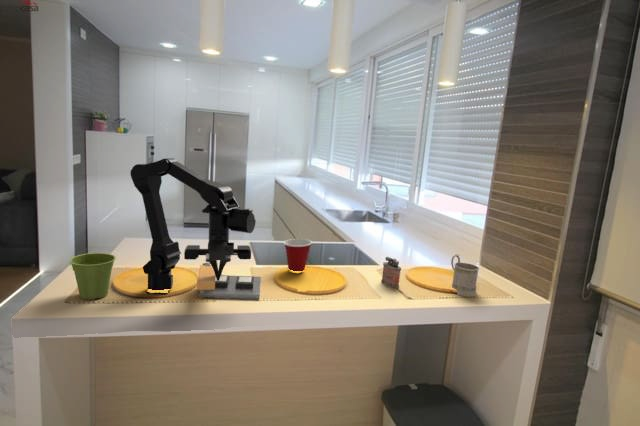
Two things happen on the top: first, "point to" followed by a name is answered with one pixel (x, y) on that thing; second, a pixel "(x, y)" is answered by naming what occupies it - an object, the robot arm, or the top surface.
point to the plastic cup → (297, 253)
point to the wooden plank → (206, 277)
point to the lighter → (391, 273)
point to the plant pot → (93, 274)
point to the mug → (464, 278)
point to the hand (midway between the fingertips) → (218, 280)
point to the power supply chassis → (235, 288)
